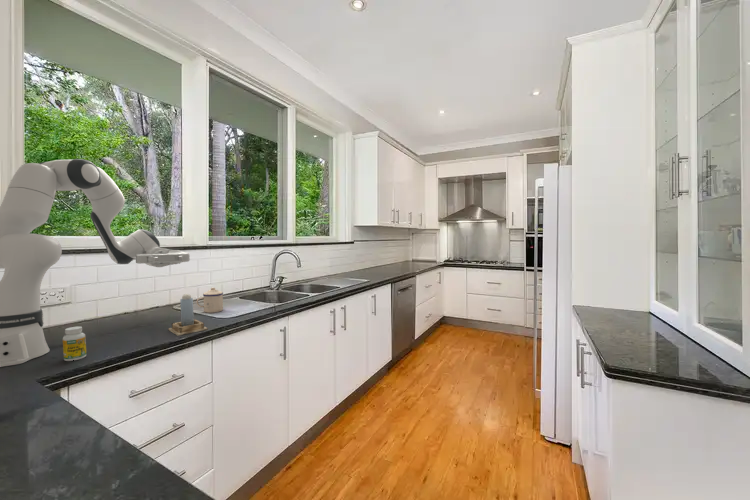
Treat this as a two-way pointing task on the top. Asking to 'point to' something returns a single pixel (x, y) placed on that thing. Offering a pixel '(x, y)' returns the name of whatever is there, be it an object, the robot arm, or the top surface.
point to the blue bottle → (187, 310)
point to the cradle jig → (187, 328)
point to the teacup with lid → (212, 301)
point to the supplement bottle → (74, 344)
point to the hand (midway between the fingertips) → (168, 258)
